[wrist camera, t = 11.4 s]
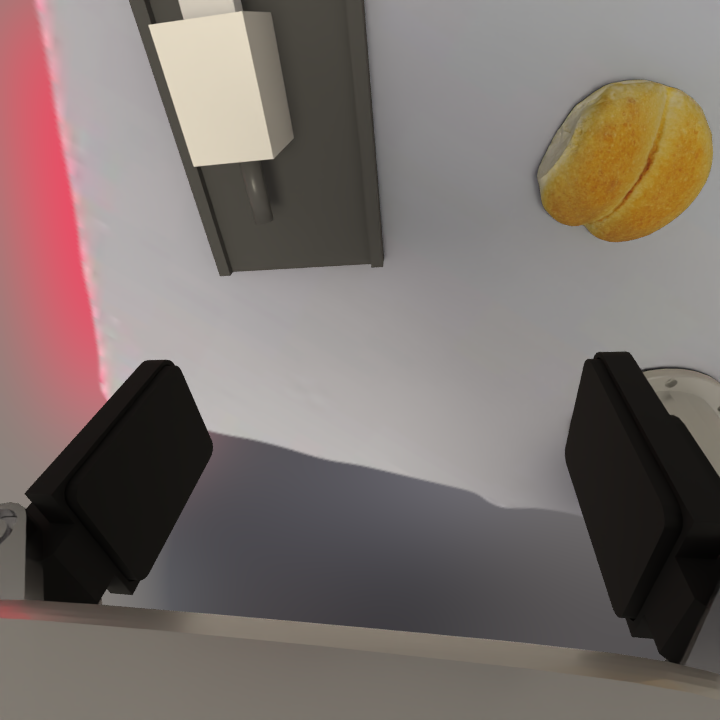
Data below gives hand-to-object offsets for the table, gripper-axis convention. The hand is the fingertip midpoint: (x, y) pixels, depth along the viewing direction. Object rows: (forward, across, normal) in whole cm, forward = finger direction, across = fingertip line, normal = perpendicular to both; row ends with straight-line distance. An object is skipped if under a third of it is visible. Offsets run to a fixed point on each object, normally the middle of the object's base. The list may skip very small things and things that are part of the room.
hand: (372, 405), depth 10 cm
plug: (+21, +9, -6) cm, 23 cm away
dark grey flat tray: (+22, +8, -5) cm, 23 cm away
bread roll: (+23, -12, 0) cm, 26 cm away
